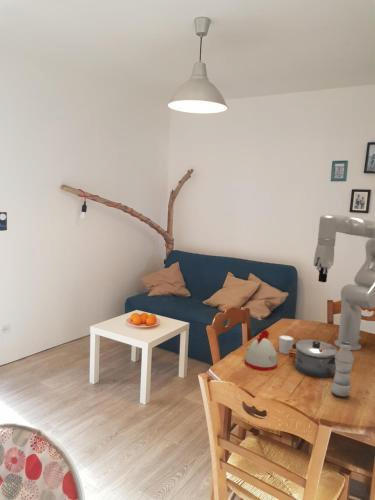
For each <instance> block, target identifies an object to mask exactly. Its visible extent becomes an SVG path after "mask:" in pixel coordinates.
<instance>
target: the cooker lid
mask: <svg viewBox="0 0 375 500" xmlns="http://www.w3.org/2000/svg"><path fill="white" fill-rule="evenodd" d="M296 348H297V349H298V350H299V351H301V352H302V353H305V354H308V355H311V356H316V357H332V356H334V355H336V352H338V350H337V347H335V346H333V345H332V344H330V343H327V342H325V341H321V340H316V339H301V340H298V341H296Z"/></svg>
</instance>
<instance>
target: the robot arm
mask: <svg viewBox="0 0 375 500" xmlns="http://www.w3.org/2000/svg"><path fill="white" fill-rule="evenodd" d="M318 223H319V224H318V235H317V236H318V237H317V244H316V248H315V253H314V257H313V266H314V267H315V268H316V270H318V279H317V280H318V282H320V283H327V280H328V273H329V270H331V268H332V266H333V265H334V261H335V260H334V259H335V245H336V238H337V233H340V234H344V235H350V236H355V237H362V238H368V239H367V240H366V242H365V260H364V262H363V265H362V266H361V267H360V269H359V270H358V271H357V272H356V274H355V276H354V278H353V279H354V280H353V281H354V284H345V285H344V286H343V287H341V290H340V301H341V302H340V303H341V309H340V316H339V317H340V318H339V320H340V321H339V327H338V328H339V329H338V337H337V339H336V340H334V345H335V346H336V347H337V348H340V343H341V342H347V343H350V344H351V350H350V351H359V350H361V349H362V345H361V344H360V343H359V340H361V339H362V337H361V336H360V330H361V322H362V309H361V308H365V309H368V310H369V309H374V308H375V221H374V220H368V219H364V218H359V217H350V216H347V215H339V214H326V215H321V216H320V218H319V222H318Z"/></svg>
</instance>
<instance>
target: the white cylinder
mask: <svg viewBox="0 0 375 500" xmlns="http://www.w3.org/2000/svg"><path fill="white" fill-rule="evenodd" d="M294 340H295V339H294V337H293V336H291V335H285V334H283V335H279V336H278V352H279V353H281V354H283V355H290V354H289V350H290V349H292V350H293V348H292V345H293V344H294Z"/></svg>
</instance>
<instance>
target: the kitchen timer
mask: <svg viewBox="0 0 375 500" xmlns="http://www.w3.org/2000/svg"><path fill="white" fill-rule="evenodd" d="M269 335H270V332H269V330H267V329H265V330H263V331H261V332H260V334H258V337H257V338H256V339H254V340H253V342H252V343H250V345H249V346H247V347H246V353H245V357H244V364H245V363H246V364H247V365H248V366H249V367H248V366H247V365H246V364H245V365H246V366H247V367H248V368H250V367H251V369H253V370H256V371H263V372H268V371H270V372H271V371H274V370H275V369H277V367H278V351H276V350H275V348H274V346H273V343H272V342H271V341H270V340H269Z"/></svg>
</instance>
